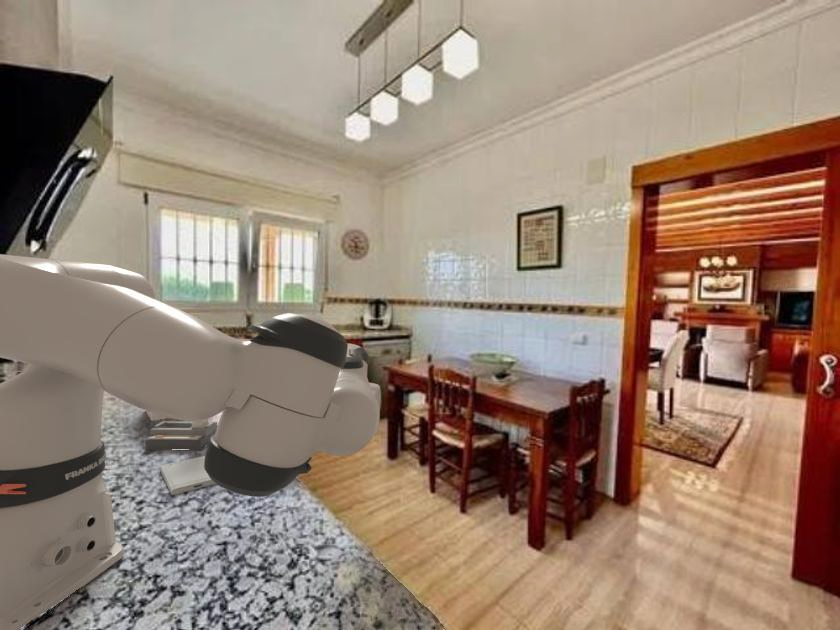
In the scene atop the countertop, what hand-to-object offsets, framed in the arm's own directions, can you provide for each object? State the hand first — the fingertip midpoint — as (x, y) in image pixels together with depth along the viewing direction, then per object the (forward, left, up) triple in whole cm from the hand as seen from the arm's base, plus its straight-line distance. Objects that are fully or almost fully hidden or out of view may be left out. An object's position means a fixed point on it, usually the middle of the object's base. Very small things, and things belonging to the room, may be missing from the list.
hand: (256, 397), depth 92 cm
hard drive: (-18, +6, -12) cm, 22 cm away
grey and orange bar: (0, +13, -8) cm, 15 cm away
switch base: (0, +16, -11) cm, 20 cm away
